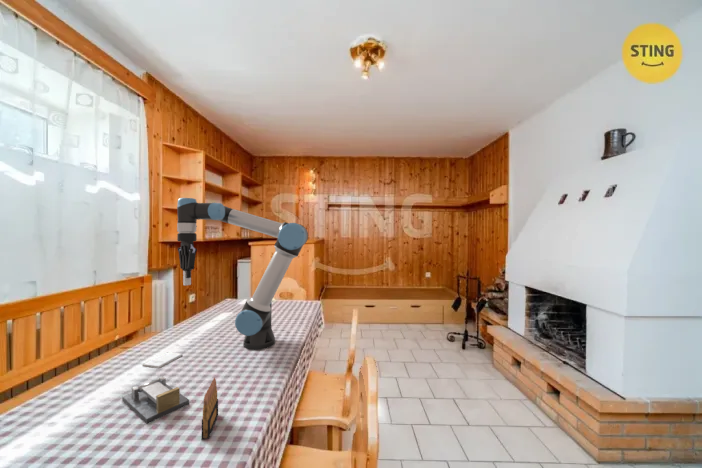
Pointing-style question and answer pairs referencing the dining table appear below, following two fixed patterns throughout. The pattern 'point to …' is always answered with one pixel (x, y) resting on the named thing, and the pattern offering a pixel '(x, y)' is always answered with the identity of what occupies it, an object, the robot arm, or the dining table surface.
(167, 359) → the external hard drive
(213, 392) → the ammunition clip
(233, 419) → the dining table surface
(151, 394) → the strap
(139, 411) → the latch board
